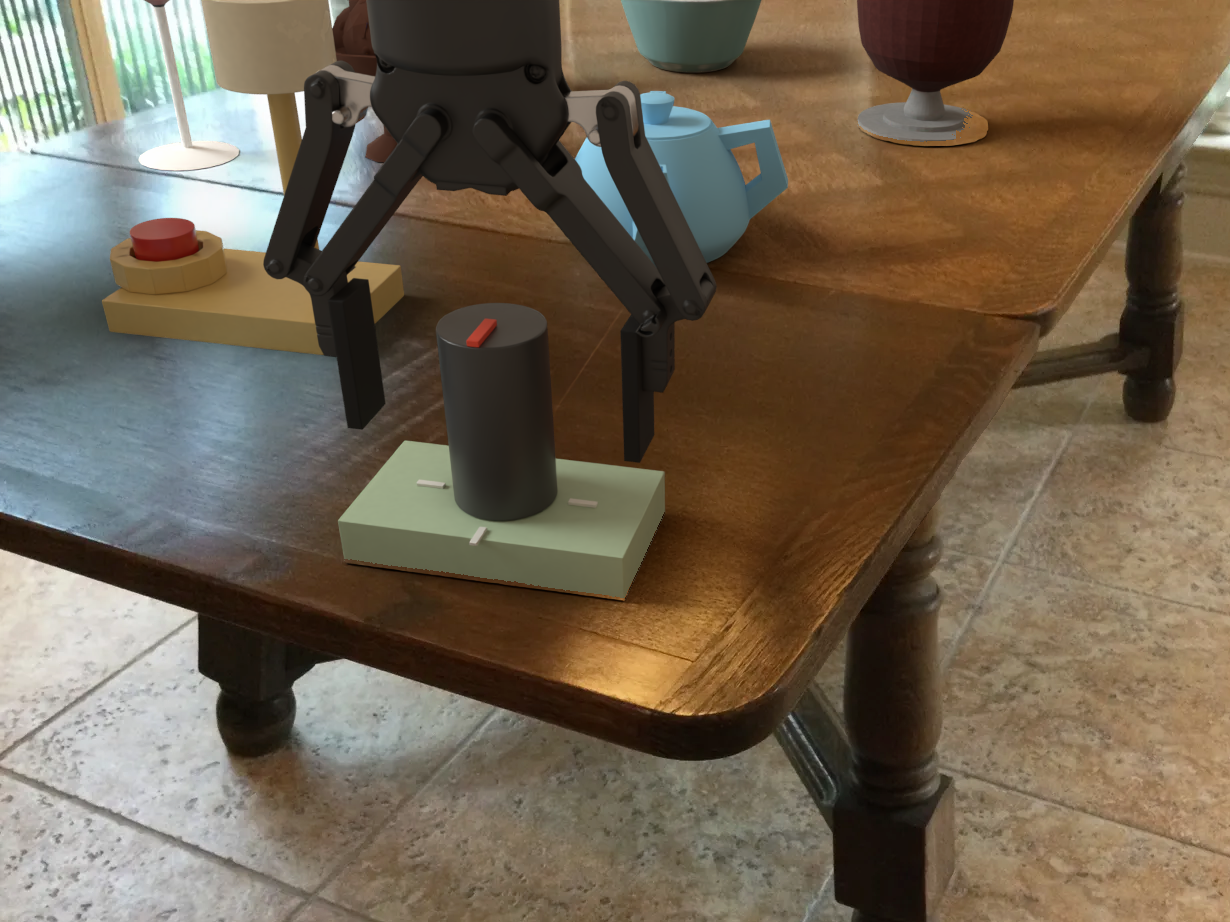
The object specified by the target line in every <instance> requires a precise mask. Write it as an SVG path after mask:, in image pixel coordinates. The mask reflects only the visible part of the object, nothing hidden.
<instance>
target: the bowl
mask: <svg viewBox="0 0 1230 922" xmlns="http://www.w3.org/2000/svg"><path fill="white" fill-rule="evenodd" d="M620 2H621V5H622V8H623V11H624V15H625V17H626V21H627V23H628V26H629V29H630V32H631V34H632V37H633V40H634V42H635V45H636V48H637V50H638V53H639V54H640V55H641V56H642V57H643V58H644V59H645V60H647V61H648V62H649V63H650V64H651V65H652V66H653V67H656V68H657V69H661V70H663V71H669V72H676V73H685V74H687V73H688V74H690V73H691V74H698V73H709V72H716V71H720V70H723V69H726V68H728V67H729V66H731V65H732V64H733V63H734V62H735V61H736V60H737V59H738V58H739V57H740V56H741V55H742V54H743V53H744V51H745V48H746V45H747V42H748V40H749V37H750V34H751V32H752V30H753V26H754V23H755V21H756V18H757V15H758V12H759V9H760V7H761V3H762V0H620Z"/></svg>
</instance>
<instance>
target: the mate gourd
mask: <svg viewBox="0 0 1230 922" xmlns="http://www.w3.org/2000/svg"><path fill="white" fill-rule="evenodd" d="M1014 2H1015V0H856V9H857V22H858V24H857V25H858V31H859V38H860V42H861V46H862V47H863V49H864V50H865V52H866V54H867V56H868V58H869V60H870V61H871V63H872V64H873V66H874V67H875V69H876V70H878V72H880V73H882V74H884V75H886V76H888V77H890V78H892V79H895V80H896V81H898V82H900V83H903V84H904V85H905V86H907V87H909V88H910V89H911V91H910V94H909V95H908V98H907V100H906V101H903V102H889V103H883V104H877V105H874V106H870V107H867V108H866V109H864V110H862V111H861V112H860V113H858V115H857V121H858V124H859V126H861V127H862V128H863V129H864V130H867V131H868V132H871V133H873V134H876V135H879V136H883V137H888V138H893V139H897V140H905V141H906V140H907V141H920V142H924V141H926V142H927V141H946V140H954V139H956V130H957V131H959V132H961V130H964V129H963V128H965V125H964V124H963V122H964V123H966V122H965V121H964V118H967V117H966V116H968V117H970V118H972V117H971V116H973V115H971V114H970V113H969V111H968V112H965V111H967V110H966V109H967V108H963V107H959V106H955V105H950V104H944V101H943V98H942V93H941V91H942V90H943V89H946V88H948V87H951V86H954V85H956V84H960V83H962V82H965V81H969V80H971V79H975V78H977V77H978V76H980V75H981V74H982V73H983V71H985V70H986V68H987V67H988V66H989V65H990V64H991V63H992V61H993V60H994V59H995V58H996V57H997V55H998V54H999V53H1000V52H1001V50H1002V47H1003V44H1004V42H1005V39H1006V36H1007V33H1008V30H1009V25H1010V22H1011V18H1012V15H1013V11H1014ZM962 109H963V110H962ZM964 110H965V111H964ZM968 114H969V115H968ZM970 115H971V116H970ZM967 119H968V118H967ZM966 124H968V123H966ZM962 127H963V128H962ZM969 128H970V127H969ZM952 134H953V135H952ZM954 135H955V136H954ZM960 138H961V137H960Z"/></svg>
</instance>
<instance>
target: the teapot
mask: <svg viewBox="0 0 1230 922" xmlns="http://www.w3.org/2000/svg"><path fill="white" fill-rule="evenodd" d="M640 97H641V105H642V113H643V121H644V129H645V136H646V138H647V140H648V142H649V144H650V147H651V149H652V151H653V153H654V155H655V157H656V159H657V161H658V163H659V165H660V167H661V169H662V171H663V174H664V176H665V178H666V180H667V182H668V184H669V186H670V188H671V190H672V192H673V194H674V196H675V198H676V201H677V203H678V205H679V207H680V209H681V211H682V213H683V215H684V217H685V219H686V221H687V223H688V225H689V228H690V230H691V232H692V234H693V236H694V238H695V240H696V242H697V244H698V246H699V248H700V250H701V253H702V255H703V257H704V259H705V261H706V263H707V264H708V263H710V262H713V261H715V260H718V259H719V258H721V257H722V256H724V255H725V254H727V253H728V251H730V249H731V248H733V246H734V245H735V244H736V243H737V242H738V241H739V239H741V237H742V236H743V235H744V233H745V232H746V230H747V228H748V226H749V224H750V220H751V219H753V218H754V217H755V216H756V215H758V213H760V212H761V211H762V210H763V209H764V208H766V207H767V206H768V205H769V204H771V202H773V201H774V200H775V199H776V198H777V197H778V196H780V195H781V194H782V193H783V192H785V191H786V190H787V189H788V188H789V178H788V174H787V171H786V168H785V164H784V161H783V158H782V154H781V151H780V149H779V145H778V142H777V138H776V135H775V131H774V128H773V125H772V120H771V119H764V120H758V121H751V122H746V123H745V122H744V123H740V124H733V125H727V126H721V127H717V125H716V124H715V123H714V122H713V120H712V119H711V117H709V116H708V115H706V114H705V113H703V112H701V111H699V110H695V109H692V108H688V107H682V106H675V96H673V95H671V94H669V93H667V91H665V90H650V91H649V92H644V93H640ZM750 144H754V146H755V152H756V156H757V160H758V167H759V172H760V173H759V174H758V175H756V176H755V177H753V178H752V179H751V180H750V181H749V182H748V183H746V182H745V178H744V175H743V173H742V170H741V167H740V165H739V163H738V161H737V159H736V157H735V155H734V153H733V151H732V150H733V149H736V148H741V147H744V146H747V145H750ZM574 159H575V160H576V162H577V163H578V164H579V166H580V168H581V170H582V175H583V177H584V179H585V180H586V182H587V183H588V184H589V185H590V187H591V188H592V189H593V190H594V192H595V193H596V194H597V195H598V196H599V198H600V199H601V200H602V201H603V203H604V204H605V205H606V206H607V207H608V209H609V210H610V211H611V212H612V214H613V215H614V216H615V217H616V219H617V220H618V221H619V222H620V223H621V225H622V226H623V227H624V228H625V230H626V231H627V232H628V233H629V235H630V236H631V237H632V238H633V239H634V241H635V242H636V243H637V244H638V246H639V247H640V248H641V249H642V250H643V252H644V253H645V254H646V255H647V257H648V258H649V259H650V260H651V262H652V263H653V264H654V265H655V263H654V261H653V259H652V257H651V255H650V253H649V251H648V249H647V247H646V245H645V243H644V241H643V239H642V237H641V235H640V233H639V231H638V229H637V227H636V225H635V223H634V221H633V219H632V217H631V215H630V213H629V211H628V209H627V207H626V205H625V203H624V201H623V199H622V197H621V195H620V193H619V191H618V189H617V187H616V185H615V183H614V181H613V179H612V177H611V175H610V173H609V171H608V169H607V166H606V164H605V160H604V157H603V154H602V149H601V147H597V146H595V145H593V144H592V143H590V141H589V140H588V138H587V137H585V139H584V142H583V143H582V145H581V147H580V149H579V150H578V152H577V154H576V156H575V158H574ZM655 266H656V265H655ZM656 268H657V267H656Z"/></svg>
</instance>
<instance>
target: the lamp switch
mask: <svg viewBox="0 0 1230 922" xmlns="http://www.w3.org/2000/svg"><path fill="white" fill-rule="evenodd" d="M196 230H197V229H196V226H195V223H194V222H193V221H191V220H189V219H186V218H182V217H181V218H180V217H161V218H154V219H149V220H145V221H142V222H140V223H137V224H135V225H133V226H132V227H131V228H130V229H129V238H131V242H132V246H133V250H134V254H135V258H136V259H138V260H142V261H152V262H160V261H170V260H177V259H180V258H184V257H187V256H190V255H194V254H195V253H197V252H198V251H200V249H199V244H198V239H197V234H196Z"/></svg>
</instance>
